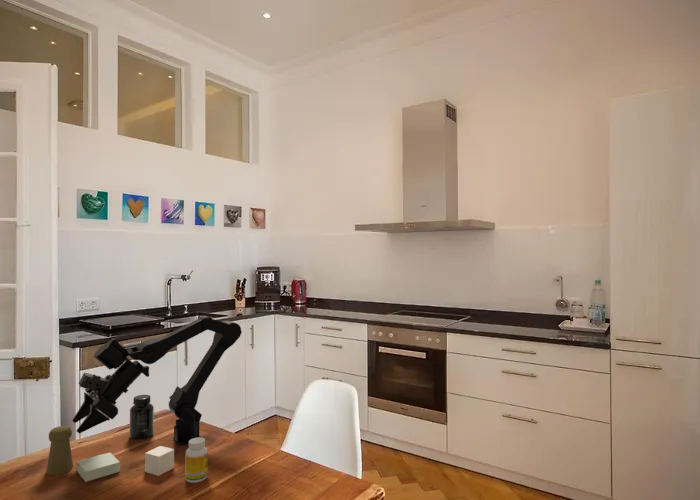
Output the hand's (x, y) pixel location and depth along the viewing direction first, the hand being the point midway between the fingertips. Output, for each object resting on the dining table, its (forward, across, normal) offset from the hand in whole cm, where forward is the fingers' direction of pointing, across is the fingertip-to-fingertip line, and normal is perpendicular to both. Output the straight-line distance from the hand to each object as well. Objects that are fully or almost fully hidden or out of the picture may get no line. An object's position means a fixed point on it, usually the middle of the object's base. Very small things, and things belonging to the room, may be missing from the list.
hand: (75, 426), depth 123 cm
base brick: (+4, +7, +10) cm, 13 cm away
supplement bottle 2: (-10, +26, +24) cm, 37 cm away
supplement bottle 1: (-6, -12, +21) cm, 25 cm away
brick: (-5, +16, +20) cm, 26 cm away
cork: (+10, 0, +5) cm, 11 cm away
